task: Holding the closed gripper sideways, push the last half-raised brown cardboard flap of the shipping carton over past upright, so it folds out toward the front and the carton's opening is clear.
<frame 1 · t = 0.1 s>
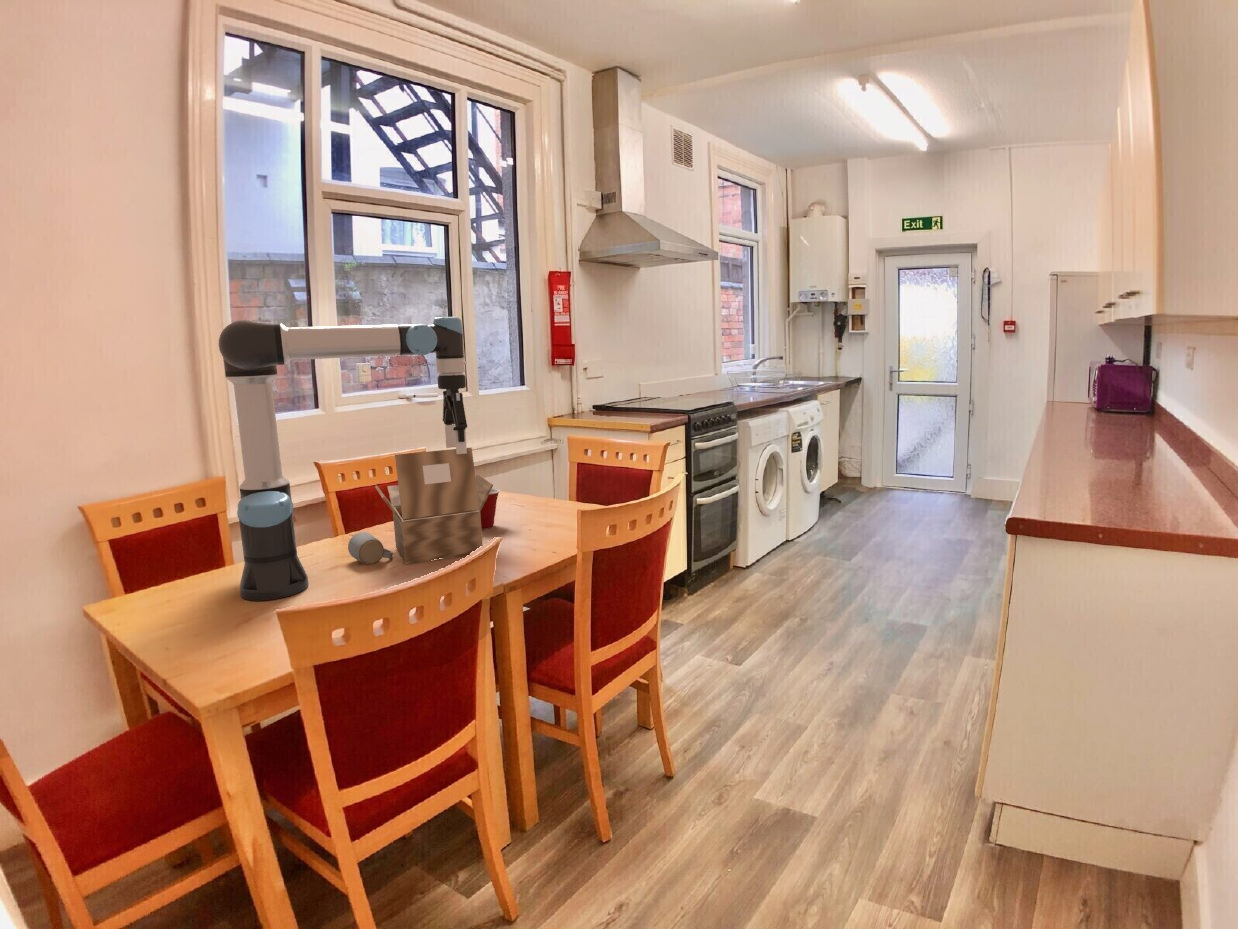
hand: (456, 450, 205), 28 cm above the table, tool pointing down, fingers open, 13 cm apart
plastic cup: (484, 527, 231), on the table
carton flap: (437, 482, 197), point 21 cm above the table, hinge at 75.0°
ceramic mug: (372, 561, 200), on the table
shipping carton: (438, 550, 207), on the table
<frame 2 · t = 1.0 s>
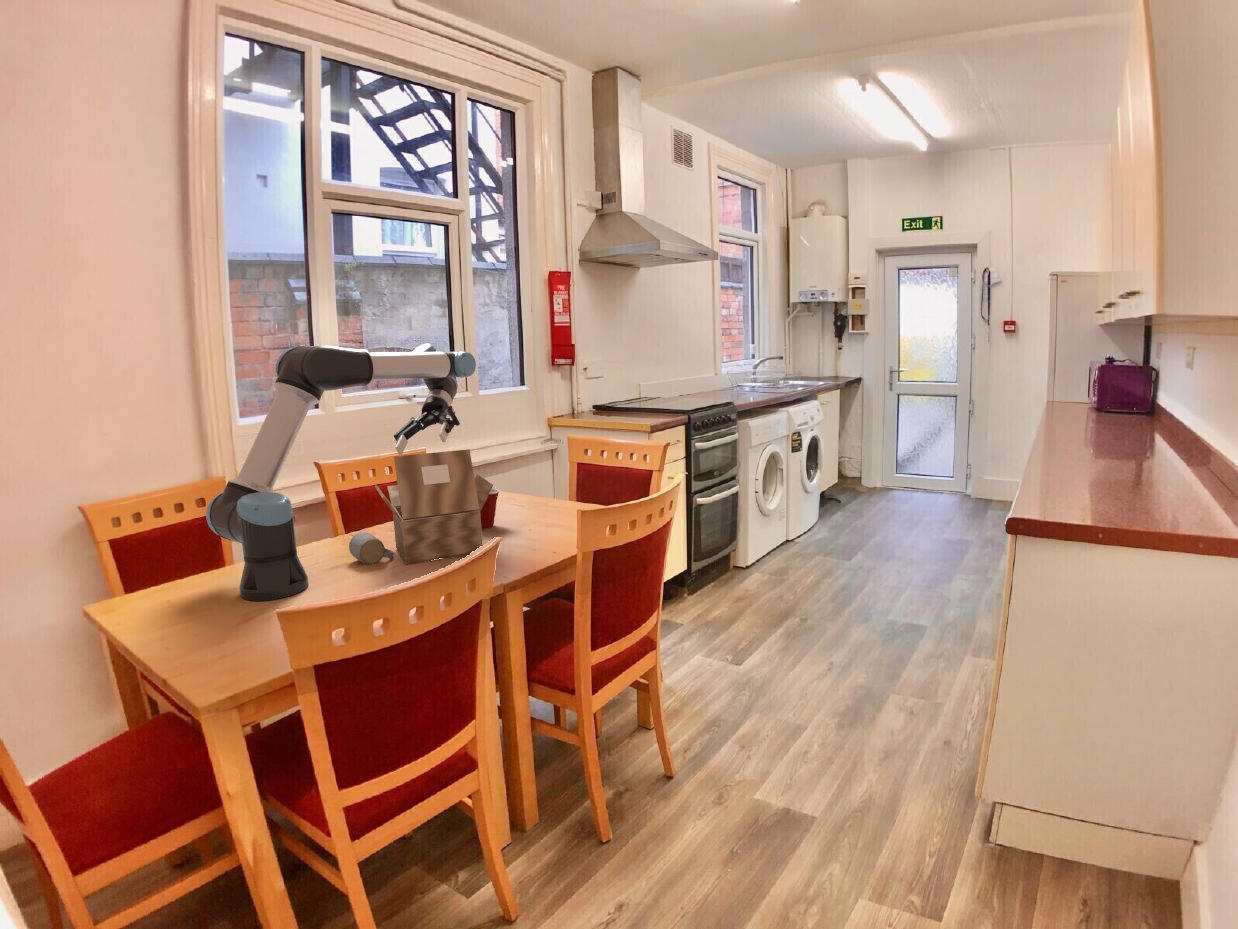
hand: (420, 444, 205), 30 cm above the table, tool tilted 65°, fingers open, 13 cm apart
carton flap: (437, 483, 198), point 20 cm above the table, hinge at 65.2°
everything else where it was.
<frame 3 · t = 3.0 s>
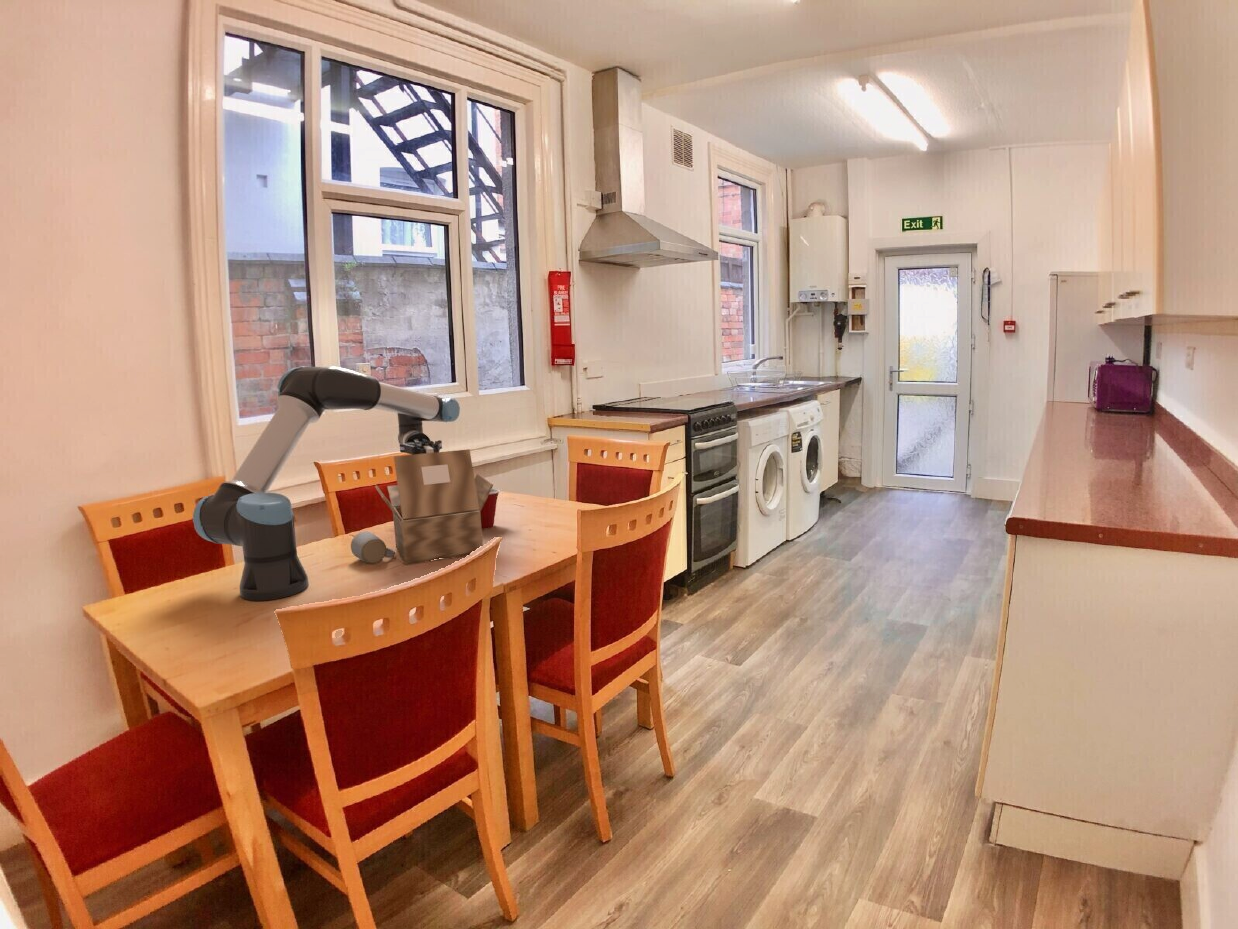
hand: (431, 453, 210), 27 cm above the table, tool horizontal, fingers closed
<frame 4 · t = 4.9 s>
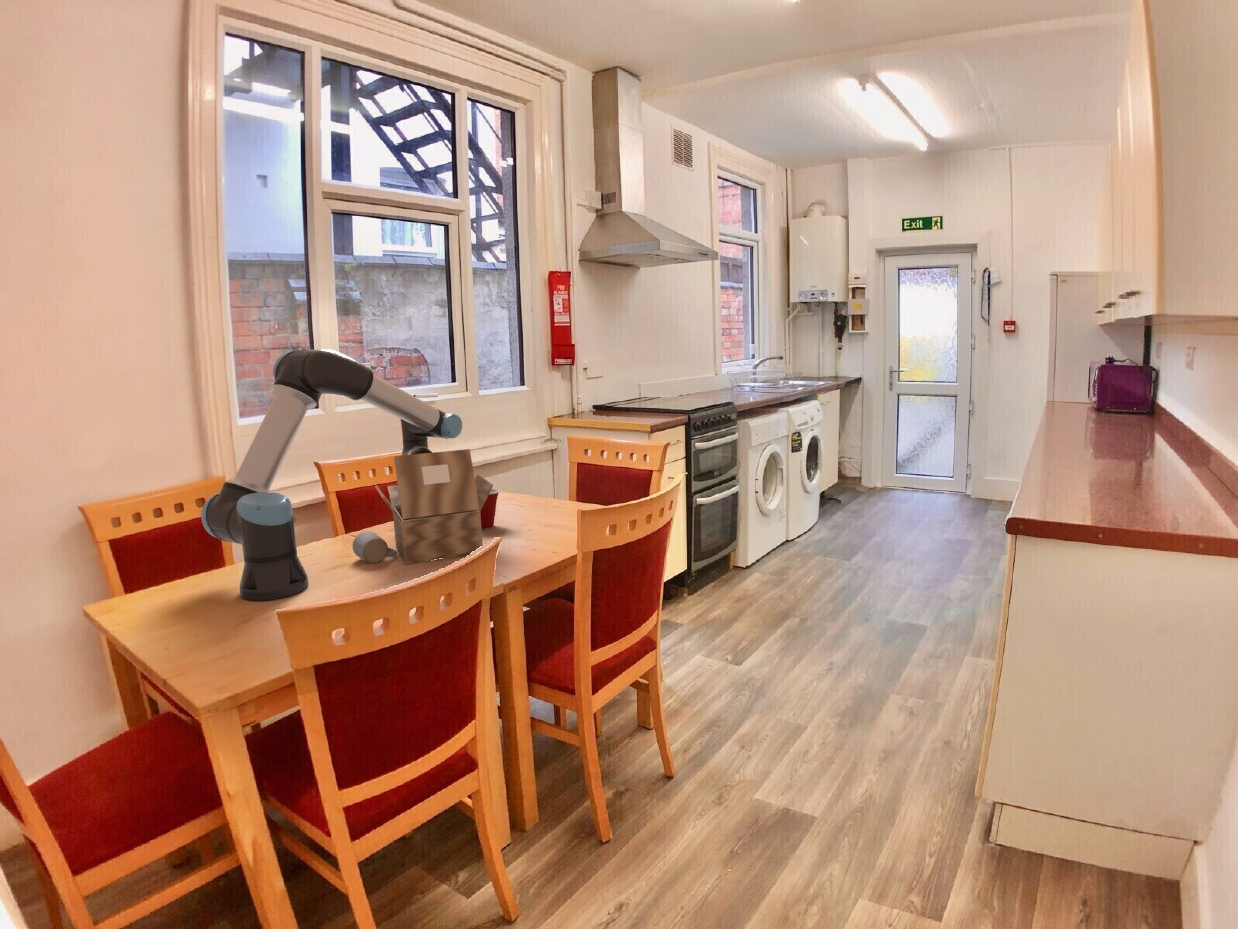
hand: (436, 472, 200), 23 cm above the table, tool horizontal, fingers closed
carton flap: (437, 483, 198), point 20 cm above the table, hinge at 66.0°, touching gripper
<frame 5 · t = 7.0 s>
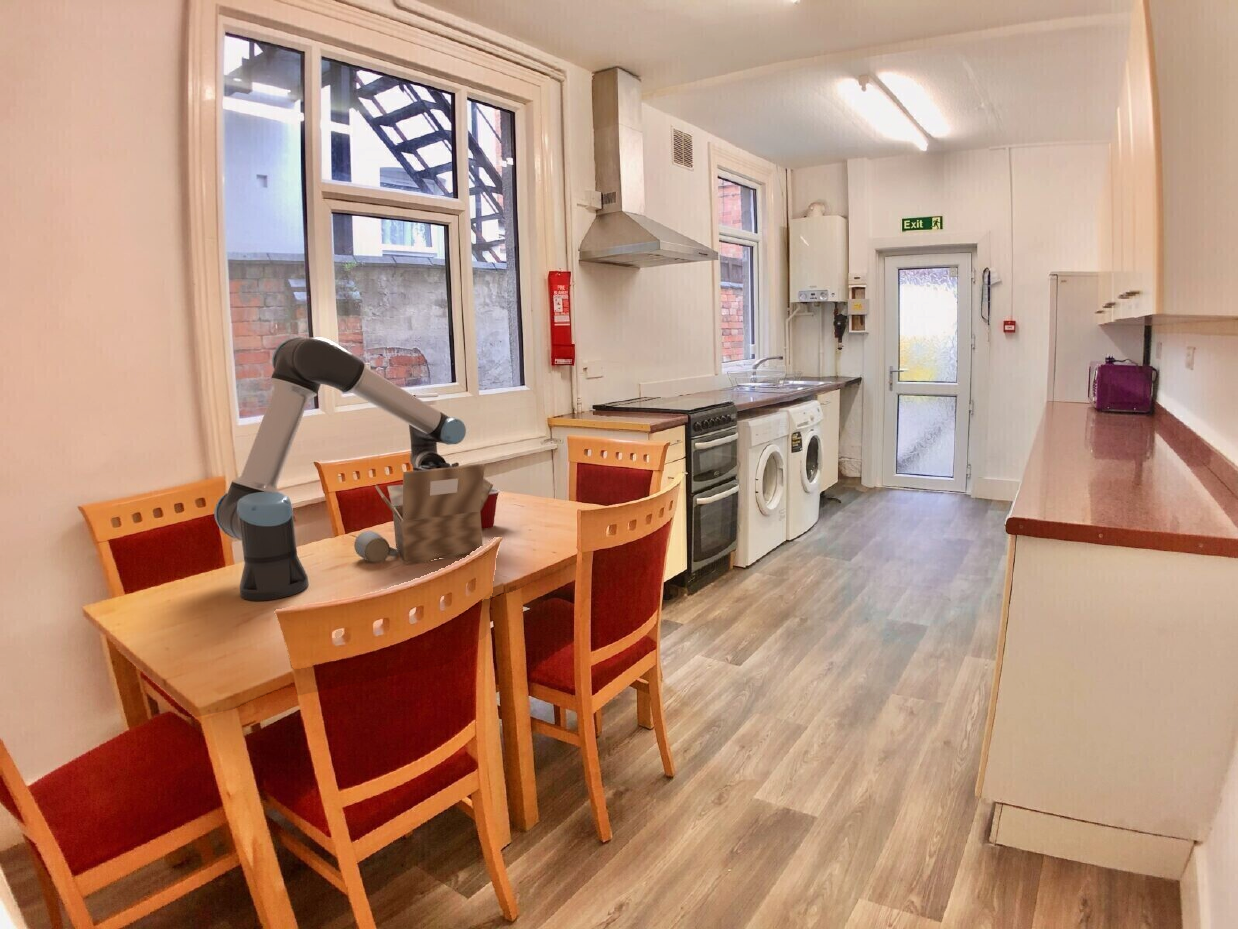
hand: (448, 479, 190), 23 cm above the table, tool horizontal, fingers closed
carton flap: (443, 492, 191), point 19 cm above the table, hinge at 123.8°, touching gripper
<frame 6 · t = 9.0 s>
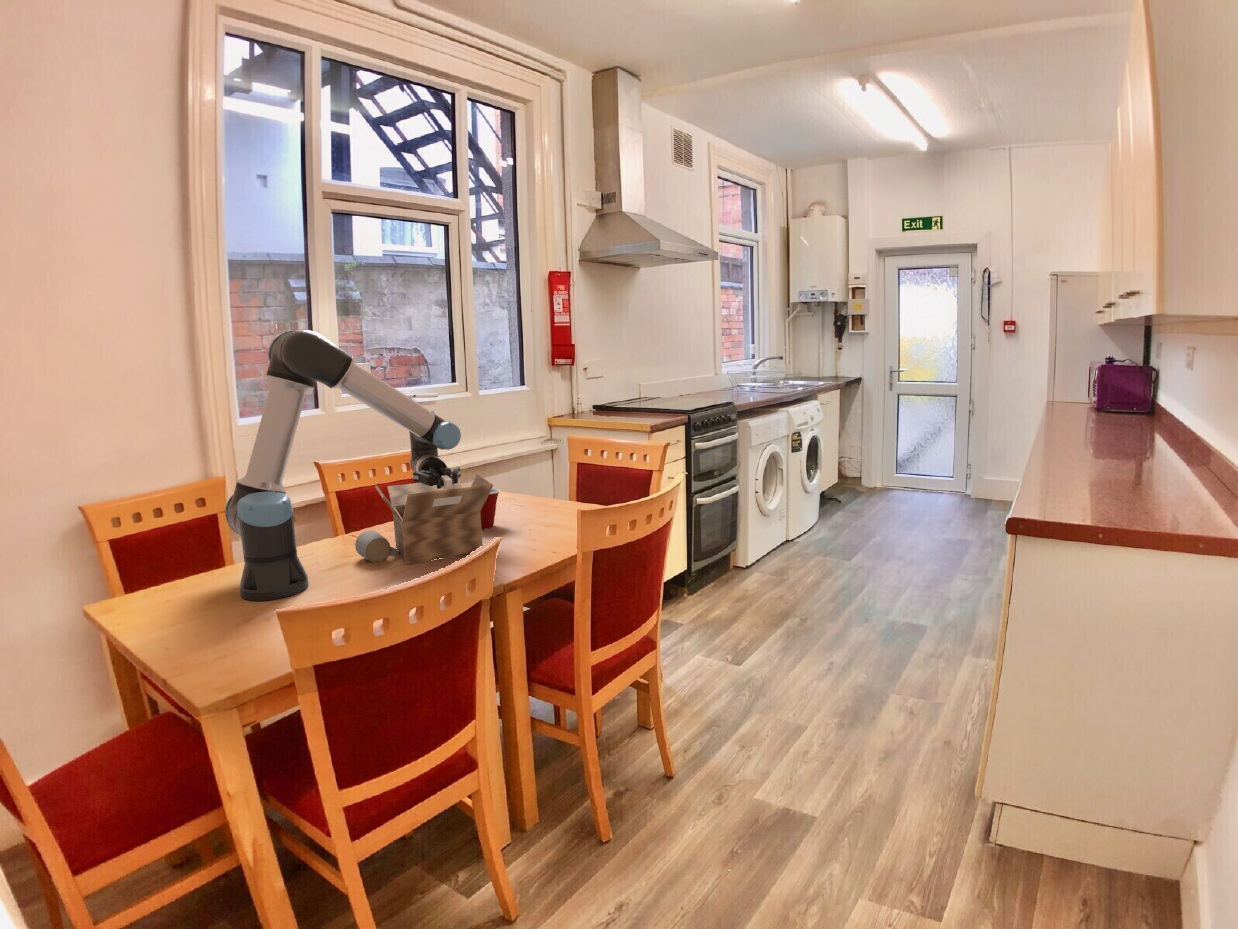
hand: (449, 485, 183), 23 cm above the table, tool horizontal, fingers closed
carton flap: (445, 503, 189), point 17 cm above the table, hinge at 146.3°, touching gripper
ceramic mug: (379, 559, 201), on the table, touching shipping carton
everything else where it was.
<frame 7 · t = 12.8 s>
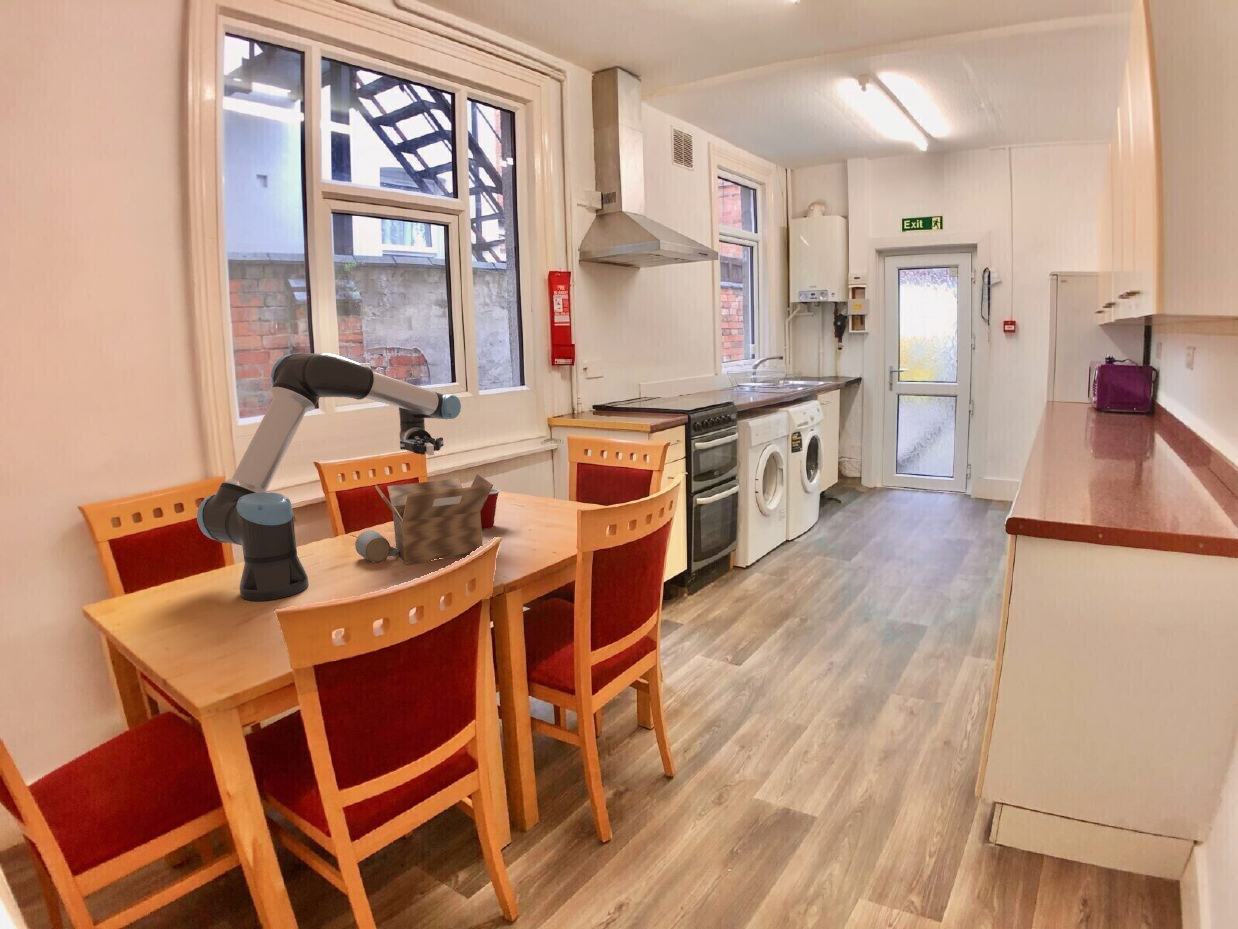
hand: (431, 450, 203), 28 cm above the table, tool horizontal, fingers closed
carton flap: (445, 503, 189), point 17 cm above the table, hinge at 146.3°
ceramic mug: (379, 559, 202), on the table
everything else where it was.
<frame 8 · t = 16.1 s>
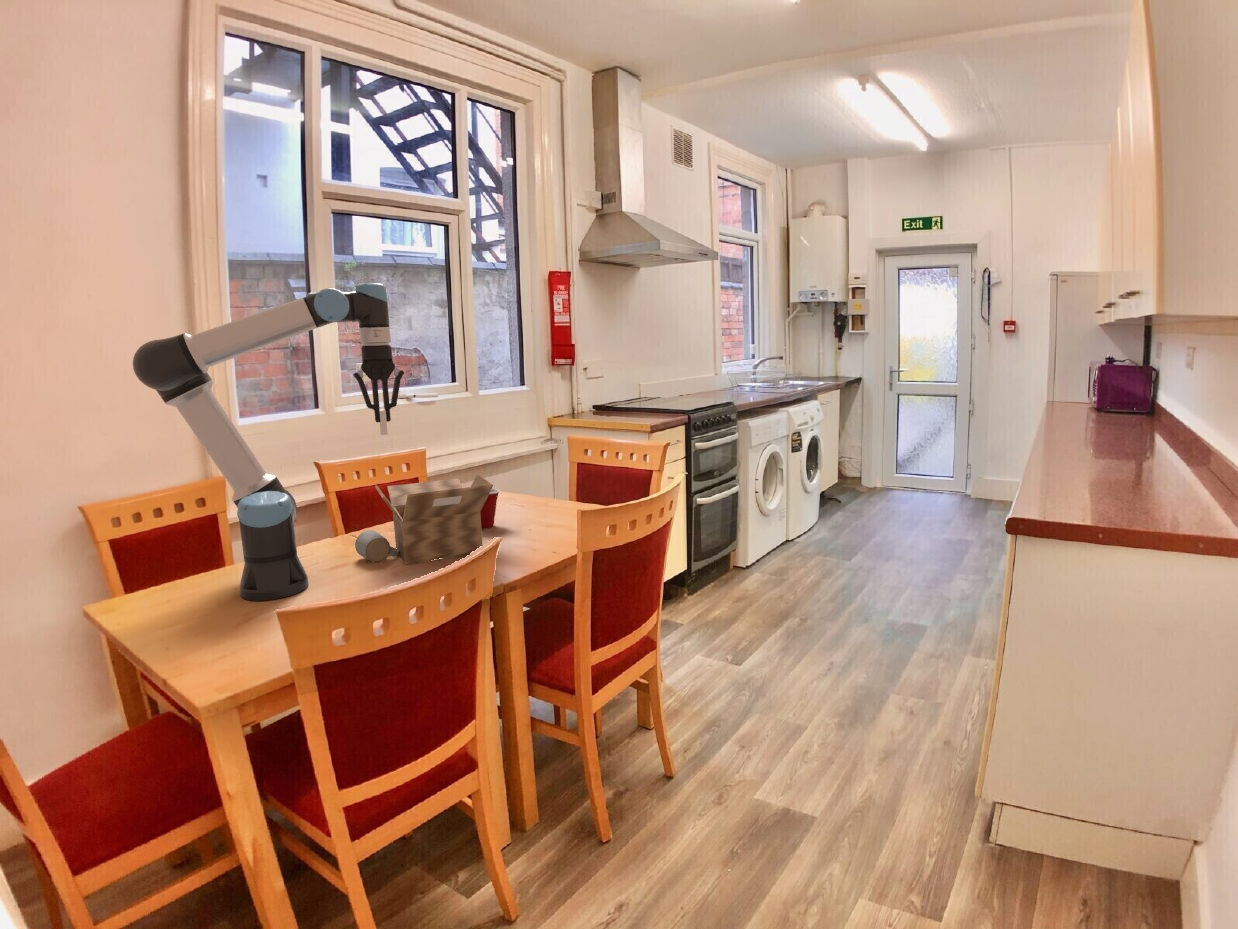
hand: (384, 434, 195), 34 cm above the table, tool pointing down, fingers closed
nothing on the table moved.
at the end: carton flap at +146° (first picture: +75°); ceramic mug moved 2.2 cm from its start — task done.
